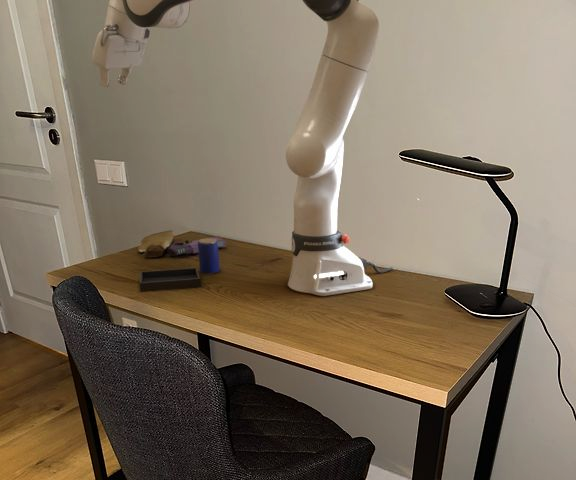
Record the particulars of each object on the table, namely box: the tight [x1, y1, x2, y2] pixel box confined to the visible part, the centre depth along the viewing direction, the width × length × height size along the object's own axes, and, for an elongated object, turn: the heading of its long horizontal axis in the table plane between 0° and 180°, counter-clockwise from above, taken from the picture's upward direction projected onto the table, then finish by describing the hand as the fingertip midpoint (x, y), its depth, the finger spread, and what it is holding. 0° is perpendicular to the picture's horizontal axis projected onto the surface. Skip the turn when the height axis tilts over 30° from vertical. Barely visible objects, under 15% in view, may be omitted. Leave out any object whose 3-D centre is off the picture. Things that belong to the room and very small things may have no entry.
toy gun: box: [166, 236, 226, 257], centre depth 184 cm, size 4×20×10 cm
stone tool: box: [137, 229, 175, 259], centre depth 187 cm, size 12×4×25 cm
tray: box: [139, 267, 202, 292], centre depth 155 cm, size 16×10×2 cm, turn 103°
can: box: [197, 237, 221, 275], centre depth 163 cm, size 6×6×9 cm
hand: (113, 84), depth 146 cm, fingers open, 8 cm apart
